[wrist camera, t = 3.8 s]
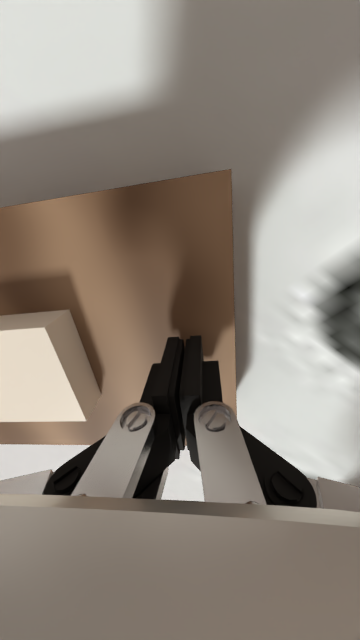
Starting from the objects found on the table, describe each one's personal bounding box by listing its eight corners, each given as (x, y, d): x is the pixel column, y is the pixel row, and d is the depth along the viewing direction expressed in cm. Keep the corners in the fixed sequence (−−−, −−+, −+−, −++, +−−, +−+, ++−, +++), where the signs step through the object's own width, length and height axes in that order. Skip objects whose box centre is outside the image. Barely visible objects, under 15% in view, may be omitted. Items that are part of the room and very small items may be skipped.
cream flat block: (69, 309, 11) (44, 327, 10) (101, 394, 14) (86, 421, 12) (-72, 321, 13) (-117, 339, 11) (-19, 397, 15) (-48, 422, 13)
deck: (222, 182, 12) (231, 168, 8) (230, 401, 19) (237, 446, 15) (-82, 231, 14) (-174, 237, 11) (23, 405, 21) (-14, 444, 18)
